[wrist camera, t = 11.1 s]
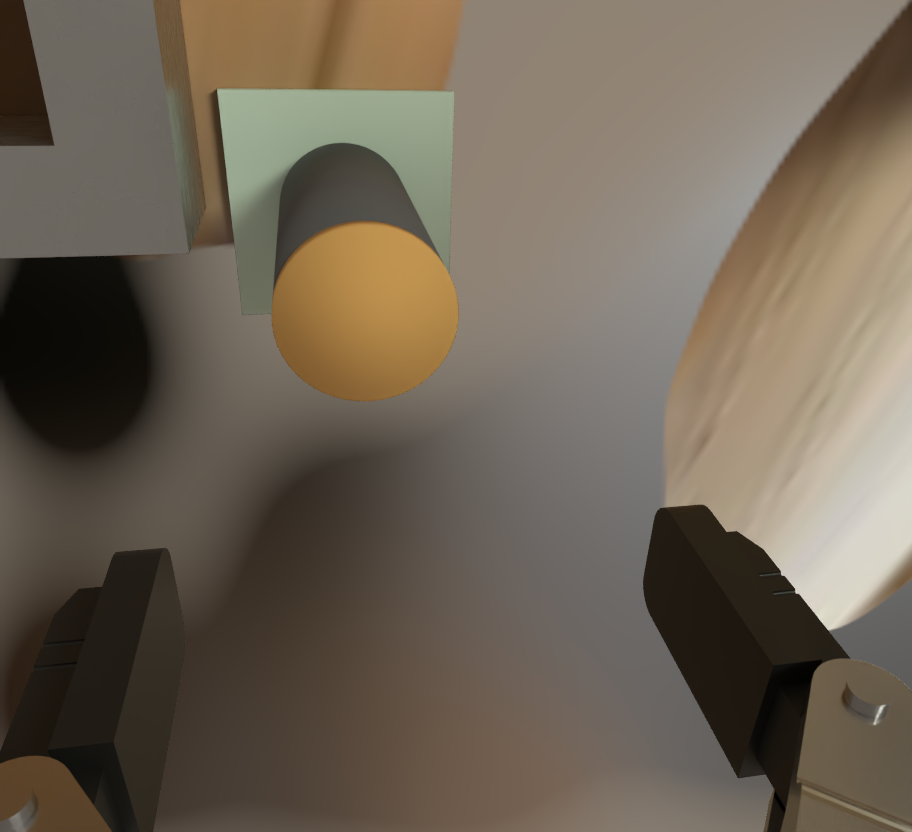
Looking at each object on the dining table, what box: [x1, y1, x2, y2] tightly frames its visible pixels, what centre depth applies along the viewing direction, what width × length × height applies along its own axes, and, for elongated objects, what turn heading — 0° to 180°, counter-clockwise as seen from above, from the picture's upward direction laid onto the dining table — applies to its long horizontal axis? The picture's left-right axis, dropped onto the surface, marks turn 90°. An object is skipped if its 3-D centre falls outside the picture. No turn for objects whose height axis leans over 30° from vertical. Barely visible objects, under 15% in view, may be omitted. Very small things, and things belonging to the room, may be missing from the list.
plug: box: [272, 143, 459, 401], centre depth 27 cm, size 5×5×12 cm
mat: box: [217, 88, 454, 315], centre depth 32 cm, size 9×9×1 cm
